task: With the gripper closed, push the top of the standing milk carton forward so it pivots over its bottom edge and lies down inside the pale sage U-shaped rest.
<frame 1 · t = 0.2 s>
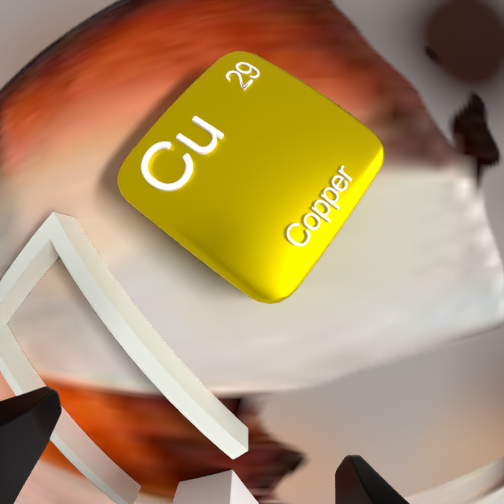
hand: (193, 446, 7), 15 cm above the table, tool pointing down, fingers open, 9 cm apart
element tile: (252, 175, 23), on the table
milk: (219, 492, 22), on the table
u rest: (100, 383, 22), on the table
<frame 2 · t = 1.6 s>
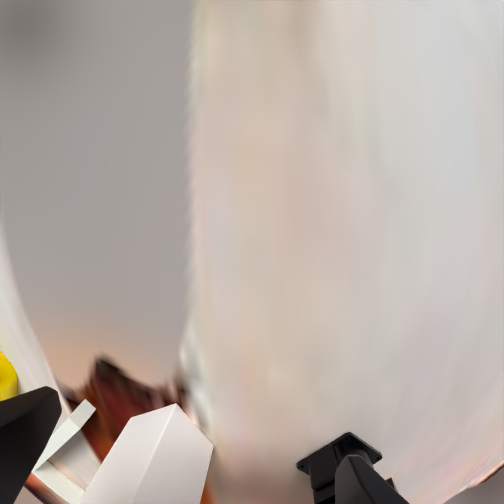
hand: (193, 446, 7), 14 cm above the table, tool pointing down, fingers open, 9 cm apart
milk: (172, 431, 23), on the table
u rest: (103, 472, 26), on the table
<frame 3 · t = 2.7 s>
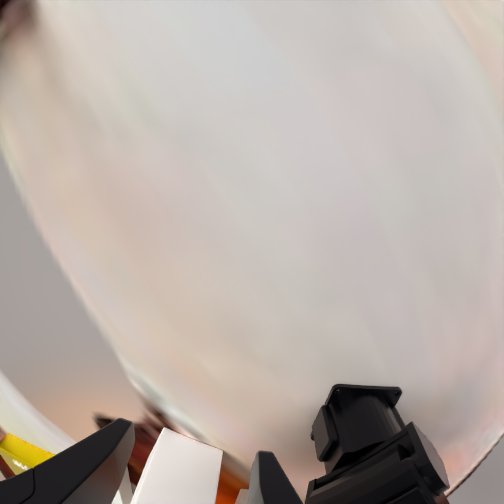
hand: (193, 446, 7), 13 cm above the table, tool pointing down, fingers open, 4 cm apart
element tile: (54, 472, 28), on the table
milk: (184, 452, 24), on the table
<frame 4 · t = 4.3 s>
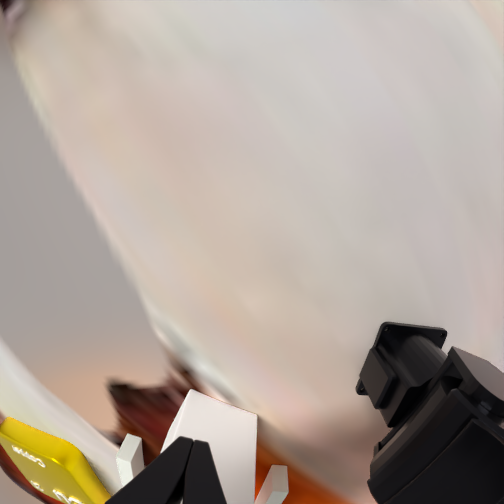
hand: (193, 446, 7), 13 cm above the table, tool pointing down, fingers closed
element tile: (58, 460, 27), on the table
milk: (211, 421, 22), on the table
u rest: (198, 500, 25), on the table
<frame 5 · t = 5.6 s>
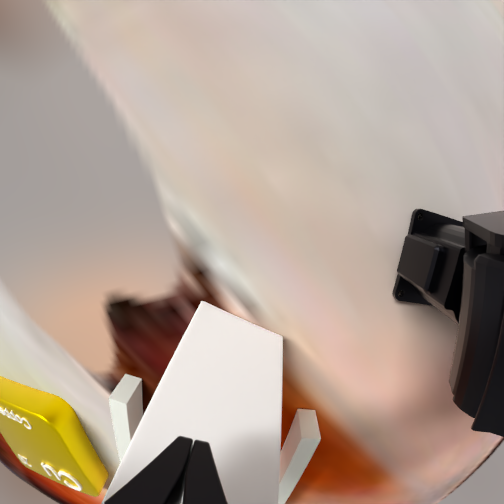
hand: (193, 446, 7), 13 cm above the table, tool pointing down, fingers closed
element tile: (49, 428, 25), on the table
milk: (226, 347, 20), on the table
u rest: (206, 469, 24), on the table
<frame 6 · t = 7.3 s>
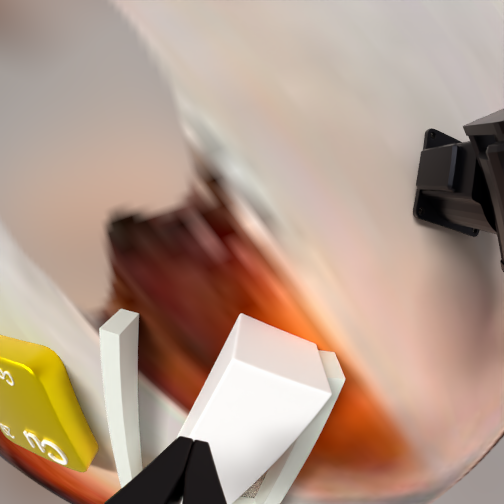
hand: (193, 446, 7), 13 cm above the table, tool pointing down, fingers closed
element tile: (35, 392, 24), on the table
milk: (283, 347, 17), point 3 cm above the table
u rest: (207, 435, 22), on the table
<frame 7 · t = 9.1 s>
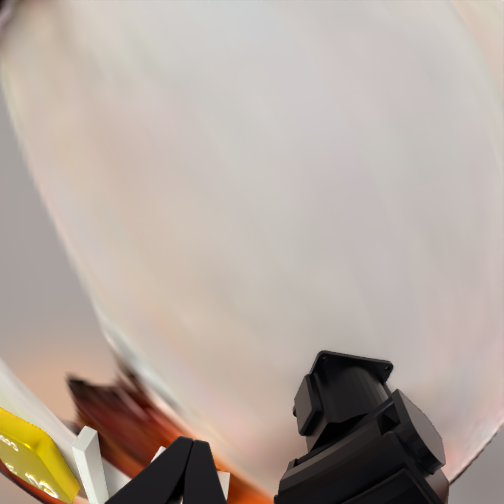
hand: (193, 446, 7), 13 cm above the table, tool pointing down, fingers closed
element tile: (32, 445, 27), on the table
u rest: (151, 495, 26), on the table
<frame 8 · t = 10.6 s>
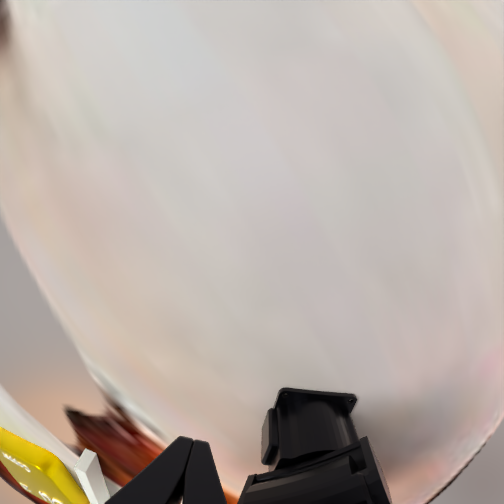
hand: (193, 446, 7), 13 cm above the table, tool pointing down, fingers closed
element tile: (43, 465, 28), on the table
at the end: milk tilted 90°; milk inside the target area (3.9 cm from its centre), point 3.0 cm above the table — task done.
